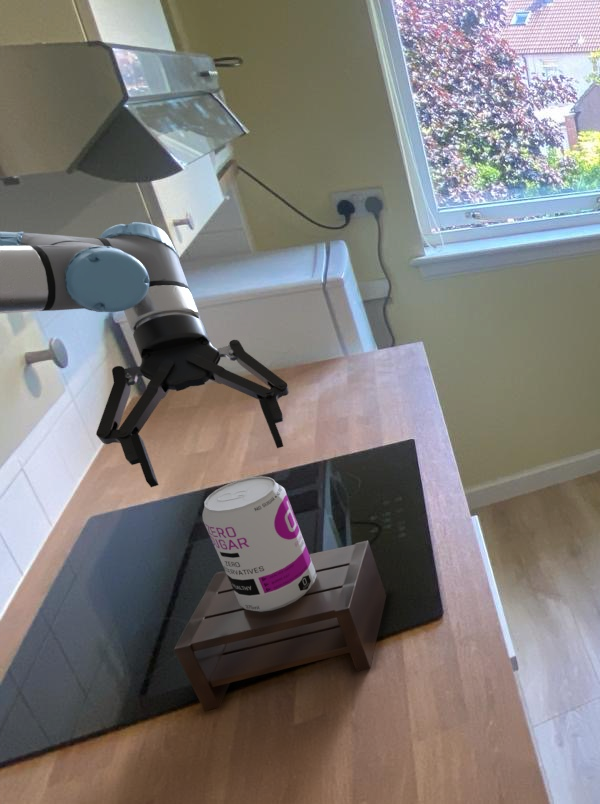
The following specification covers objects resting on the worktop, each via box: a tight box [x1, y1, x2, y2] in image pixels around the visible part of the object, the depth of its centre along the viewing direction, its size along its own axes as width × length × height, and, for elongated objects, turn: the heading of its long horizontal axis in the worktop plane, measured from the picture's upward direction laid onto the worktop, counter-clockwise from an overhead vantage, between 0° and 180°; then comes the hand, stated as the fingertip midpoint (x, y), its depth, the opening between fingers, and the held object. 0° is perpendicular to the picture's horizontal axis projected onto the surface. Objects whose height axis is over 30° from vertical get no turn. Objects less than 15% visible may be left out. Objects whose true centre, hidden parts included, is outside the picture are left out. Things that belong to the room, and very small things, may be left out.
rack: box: [173, 540, 387, 712], centre depth 95 cm, size 18×14×10 cm
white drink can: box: [201, 476, 317, 612], centre depth 90 cm, size 8×8×15 cm
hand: (218, 463), depth 96 cm, fingers open, 13 cm apart
